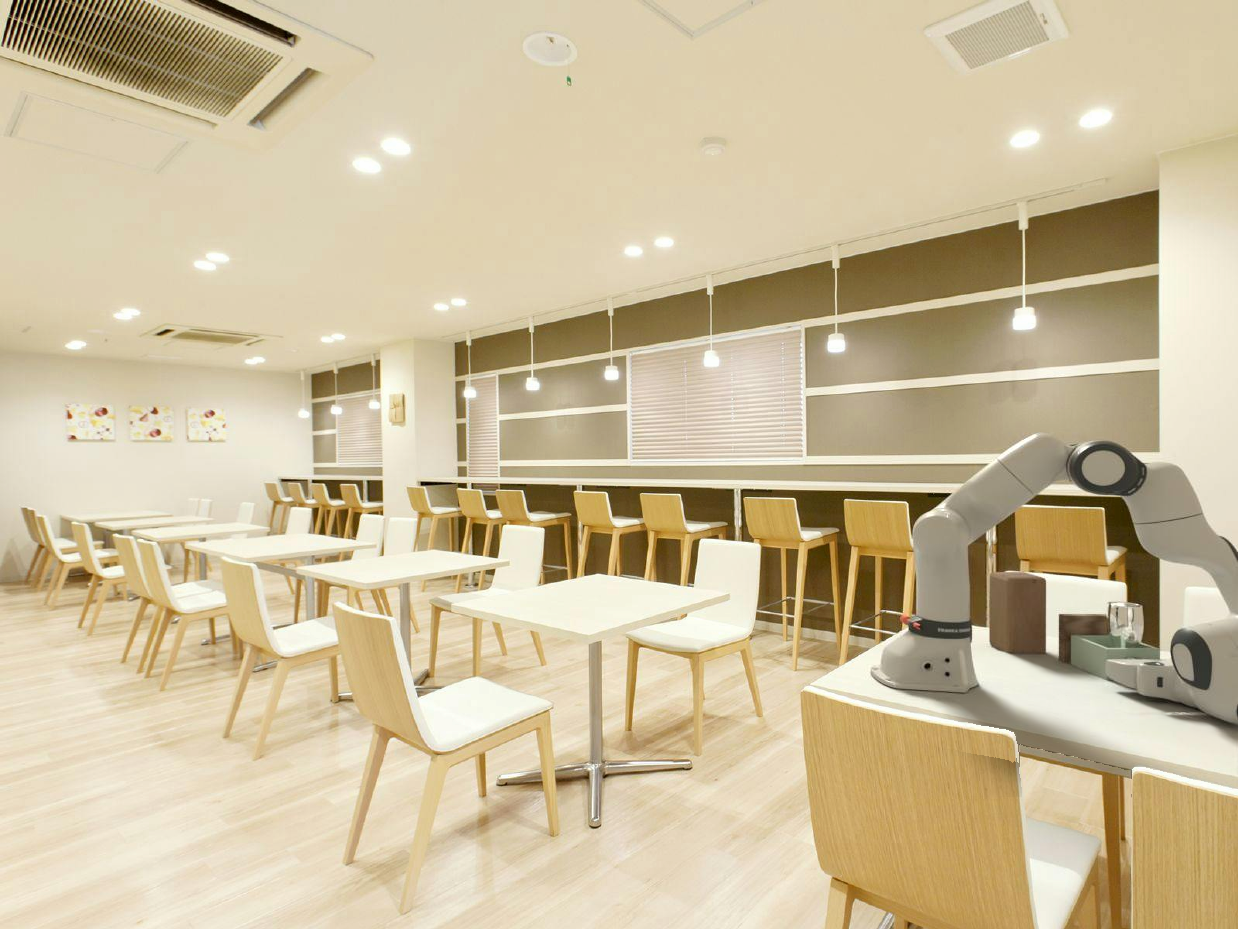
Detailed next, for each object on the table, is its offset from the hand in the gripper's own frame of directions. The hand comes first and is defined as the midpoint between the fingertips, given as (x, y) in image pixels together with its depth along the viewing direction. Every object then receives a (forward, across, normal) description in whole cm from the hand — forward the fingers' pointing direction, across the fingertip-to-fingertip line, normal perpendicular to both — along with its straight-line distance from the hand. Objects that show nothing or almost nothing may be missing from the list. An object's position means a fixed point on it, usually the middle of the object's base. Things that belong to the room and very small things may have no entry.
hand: (1132, 660), depth 151 cm
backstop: (+5, 0, +5) cm, 7 cm away
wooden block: (+26, +11, +5) cm, 29 cm away
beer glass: (+5, -2, +4) cm, 7 cm away
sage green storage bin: (+6, 0, +4) cm, 7 cm away
